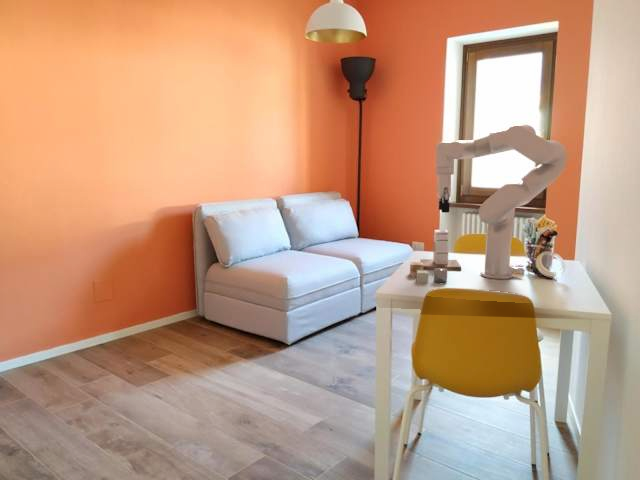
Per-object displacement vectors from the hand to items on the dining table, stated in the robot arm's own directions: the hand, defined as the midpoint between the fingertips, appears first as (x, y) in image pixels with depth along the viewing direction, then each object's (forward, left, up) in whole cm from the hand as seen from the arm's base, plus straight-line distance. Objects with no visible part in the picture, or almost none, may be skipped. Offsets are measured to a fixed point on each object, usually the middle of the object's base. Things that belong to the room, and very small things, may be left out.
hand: (443, 211), depth 225 cm
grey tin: (+4, +26, -25) cm, 36 cm away
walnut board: (+1, -1, -25) cm, 25 cm away
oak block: (+12, +16, -25) cm, 32 cm away
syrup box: (+1, -1, -23) cm, 23 cm away
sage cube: (+11, +26, -25) cm, 38 cm away
